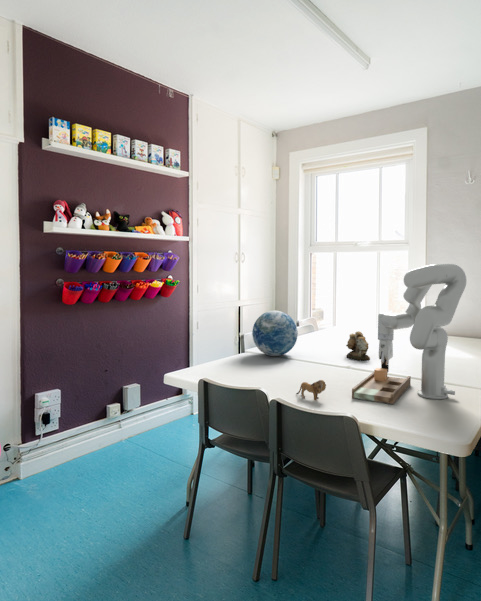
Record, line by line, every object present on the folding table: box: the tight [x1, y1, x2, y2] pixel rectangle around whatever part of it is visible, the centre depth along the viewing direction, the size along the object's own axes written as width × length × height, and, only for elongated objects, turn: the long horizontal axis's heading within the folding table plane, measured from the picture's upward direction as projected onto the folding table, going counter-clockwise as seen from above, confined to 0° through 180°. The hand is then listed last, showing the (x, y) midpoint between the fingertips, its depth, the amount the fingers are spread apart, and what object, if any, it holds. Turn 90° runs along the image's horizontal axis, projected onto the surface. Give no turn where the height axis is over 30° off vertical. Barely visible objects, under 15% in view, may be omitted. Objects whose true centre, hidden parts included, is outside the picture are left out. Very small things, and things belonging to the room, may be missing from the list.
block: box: [373, 367, 388, 381], centre depth 215 cm, size 5×5×5 cm
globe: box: [251, 310, 299, 357], centre depth 286 cm, size 30×30×30 cm
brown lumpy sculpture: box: [345, 331, 371, 361], centre depth 276 cm, size 18×12×17 cm, turn 30°
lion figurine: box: [295, 379, 327, 402], centre depth 197 cm, size 15×5×9 cm, turn 56°
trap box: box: [351, 371, 411, 406], centre depth 205 cm, size 18×34×4 cm, turn 147°
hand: (384, 372), depth 222 cm, fingers closed
